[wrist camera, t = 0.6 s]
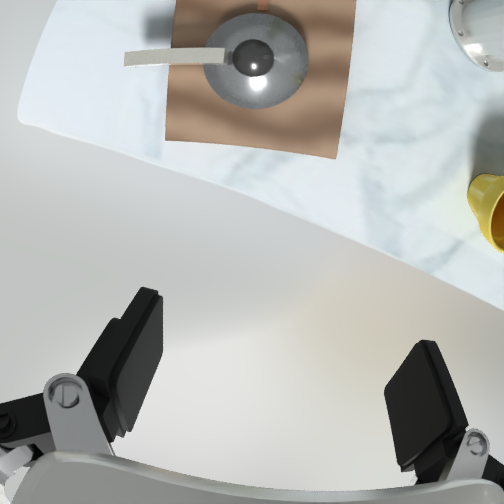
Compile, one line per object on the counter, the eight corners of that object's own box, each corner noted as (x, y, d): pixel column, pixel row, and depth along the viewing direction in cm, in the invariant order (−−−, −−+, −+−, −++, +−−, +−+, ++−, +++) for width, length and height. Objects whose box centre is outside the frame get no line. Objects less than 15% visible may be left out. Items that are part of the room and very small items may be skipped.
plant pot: (447, 181, 37) (481, 205, 29) (495, 149, 33) (533, 167, 25) (467, 235, 41) (496, 267, 32) (511, 205, 37) (544, 231, 28)
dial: (312, 22, 28) (315, 13, 24) (301, 114, 34) (303, 116, 30) (145, 20, 29) (129, 14, 25) (138, 104, 35) (122, 106, 31)
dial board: (183, -11, 29) (177, -16, 27) (353, 1, 27) (356, -4, 25) (170, 138, 39) (164, 140, 37) (333, 156, 38) (336, 159, 36)
